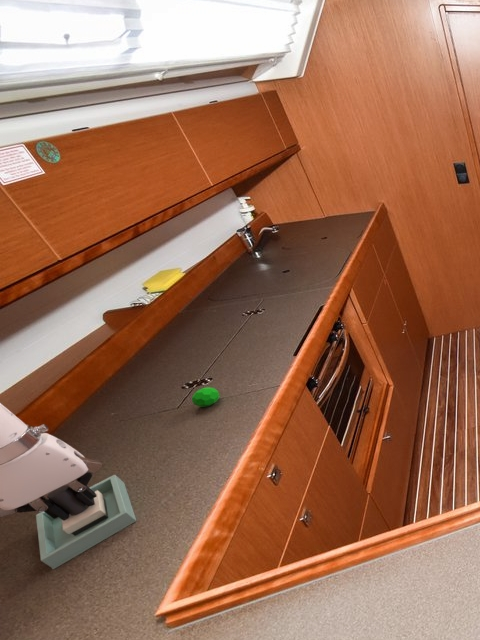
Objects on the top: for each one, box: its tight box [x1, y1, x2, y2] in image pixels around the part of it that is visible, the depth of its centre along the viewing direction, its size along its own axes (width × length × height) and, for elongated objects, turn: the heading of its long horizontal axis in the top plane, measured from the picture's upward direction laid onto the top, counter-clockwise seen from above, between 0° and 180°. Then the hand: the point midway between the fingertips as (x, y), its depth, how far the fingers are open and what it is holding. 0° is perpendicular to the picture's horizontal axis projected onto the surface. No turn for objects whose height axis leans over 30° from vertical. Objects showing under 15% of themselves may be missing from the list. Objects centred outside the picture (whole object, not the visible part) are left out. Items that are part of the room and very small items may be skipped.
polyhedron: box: [191, 386, 220, 408], centre depth 108 cm, size 5×5×5 cm
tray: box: [35, 474, 137, 570], centre depth 81 cm, size 15×11×3 cm
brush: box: [46, 485, 108, 536], centre depth 80 cm, size 7×5×9 cm
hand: (78, 508), depth 80 cm, fingers closed on brush, 2 cm apart
